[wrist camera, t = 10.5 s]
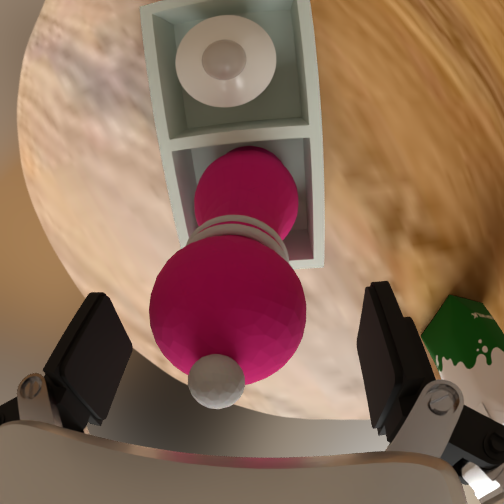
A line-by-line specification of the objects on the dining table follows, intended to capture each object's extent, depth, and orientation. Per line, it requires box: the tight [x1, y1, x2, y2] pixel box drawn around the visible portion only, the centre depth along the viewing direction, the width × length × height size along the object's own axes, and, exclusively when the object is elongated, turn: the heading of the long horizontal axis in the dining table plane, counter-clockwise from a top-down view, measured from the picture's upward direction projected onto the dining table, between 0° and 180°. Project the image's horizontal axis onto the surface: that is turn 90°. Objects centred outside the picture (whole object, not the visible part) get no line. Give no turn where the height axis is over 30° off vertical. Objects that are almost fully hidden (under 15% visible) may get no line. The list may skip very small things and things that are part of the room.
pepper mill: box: [149, 146, 306, 409], centre depth 17 cm, size 7×7×20 cm
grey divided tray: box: [140, 0, 325, 269], centre depth 21 cm, size 20×11×6 cm, turn 6°
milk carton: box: [421, 295, 504, 425], centre depth 25 cm, size 9×9×20 cm
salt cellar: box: [175, 15, 276, 107], centre depth 17 cm, size 6×6×8 cm
